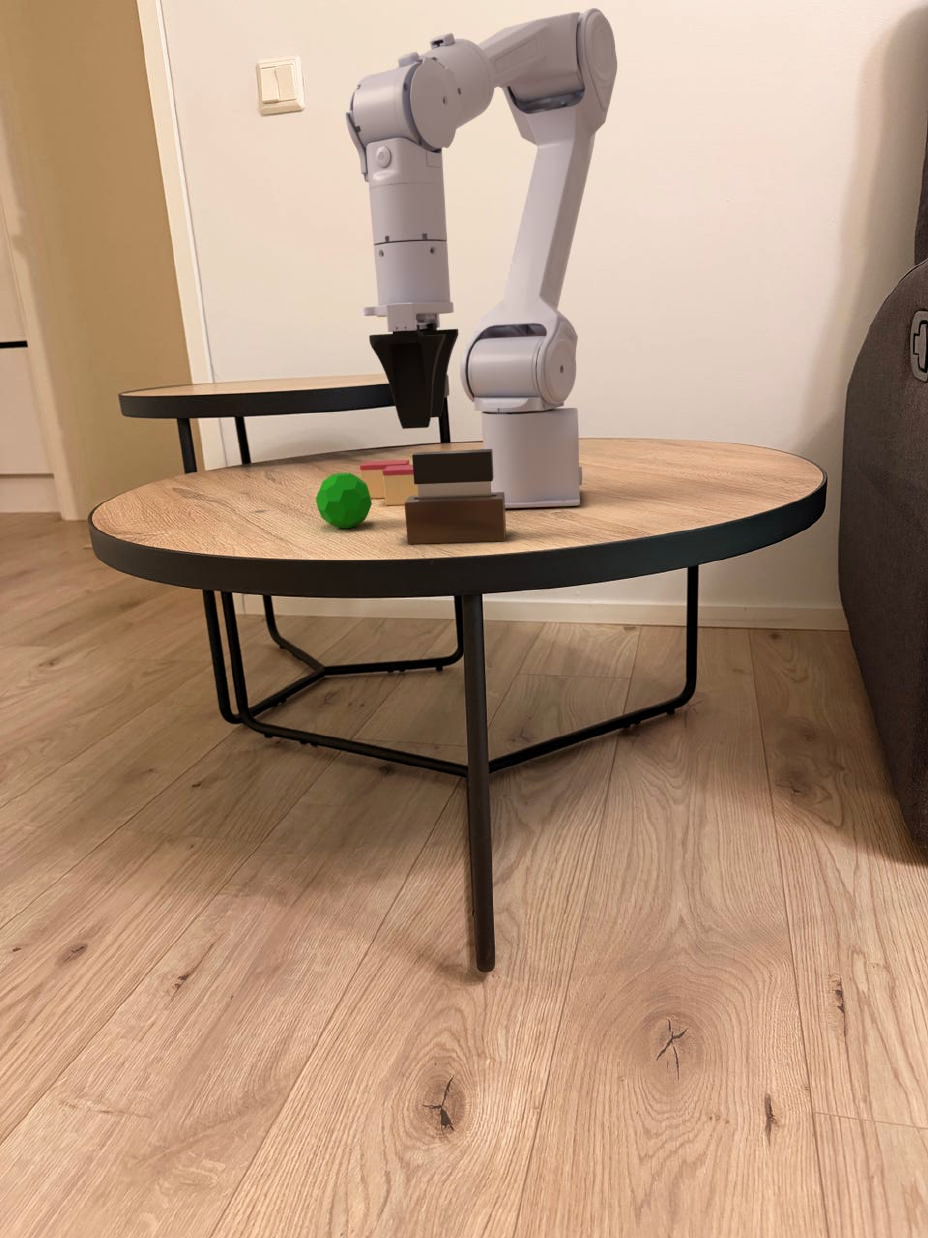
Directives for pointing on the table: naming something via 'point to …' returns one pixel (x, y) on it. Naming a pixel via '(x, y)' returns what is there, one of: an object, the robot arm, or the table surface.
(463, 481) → the beige and brown block
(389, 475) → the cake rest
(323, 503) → the polyhedron
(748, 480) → the table surface
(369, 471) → the cake slice
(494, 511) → the knife block
